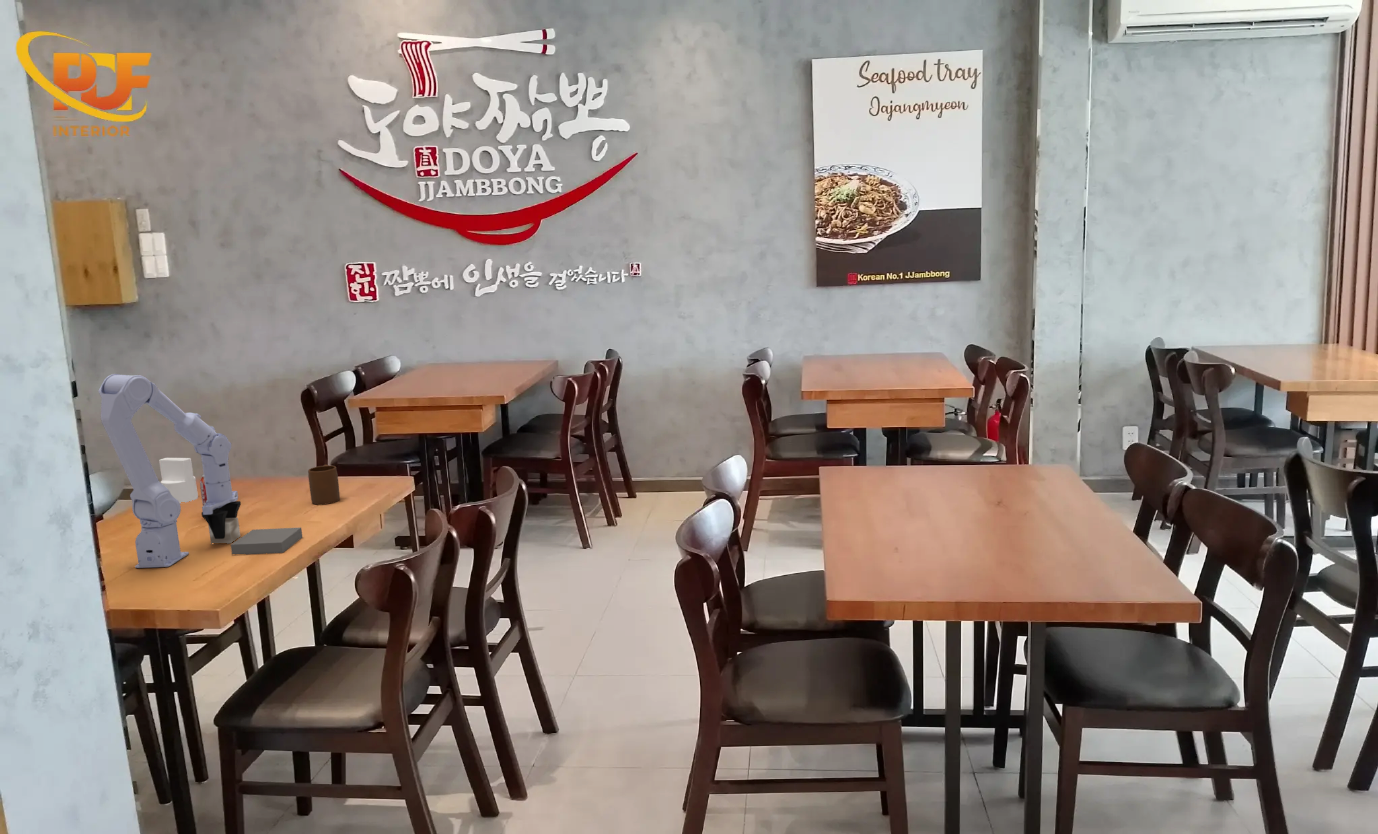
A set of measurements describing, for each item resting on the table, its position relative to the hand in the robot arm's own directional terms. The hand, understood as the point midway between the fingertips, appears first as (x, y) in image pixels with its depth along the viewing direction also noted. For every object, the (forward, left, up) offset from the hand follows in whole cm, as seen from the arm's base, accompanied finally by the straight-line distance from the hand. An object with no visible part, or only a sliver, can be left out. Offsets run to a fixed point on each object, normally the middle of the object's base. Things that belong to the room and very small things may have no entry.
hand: (225, 535), depth 252 cm
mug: (+36, -12, -2) cm, 38 cm away
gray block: (0, 0, -1) cm, 1 cm away
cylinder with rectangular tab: (+43, +33, -2) cm, 54 cm away
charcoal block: (-6, -13, -2) cm, 14 cm away
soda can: (+22, +12, -2) cm, 25 cm away
